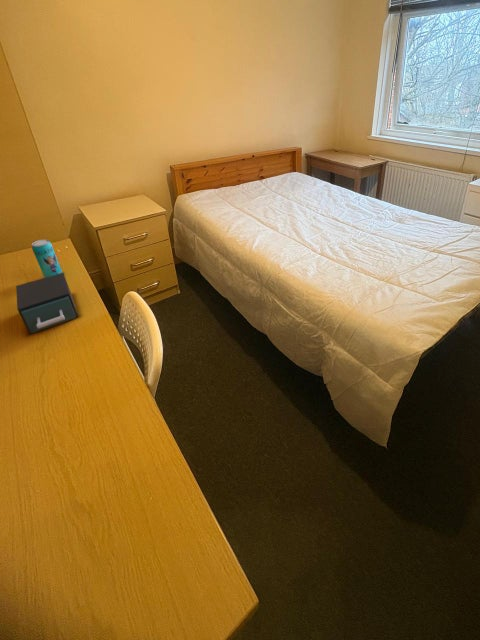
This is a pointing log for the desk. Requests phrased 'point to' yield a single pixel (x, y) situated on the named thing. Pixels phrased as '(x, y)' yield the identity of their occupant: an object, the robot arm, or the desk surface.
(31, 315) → the drawer
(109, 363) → the desk surface
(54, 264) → the beverage can
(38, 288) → the cabinet
